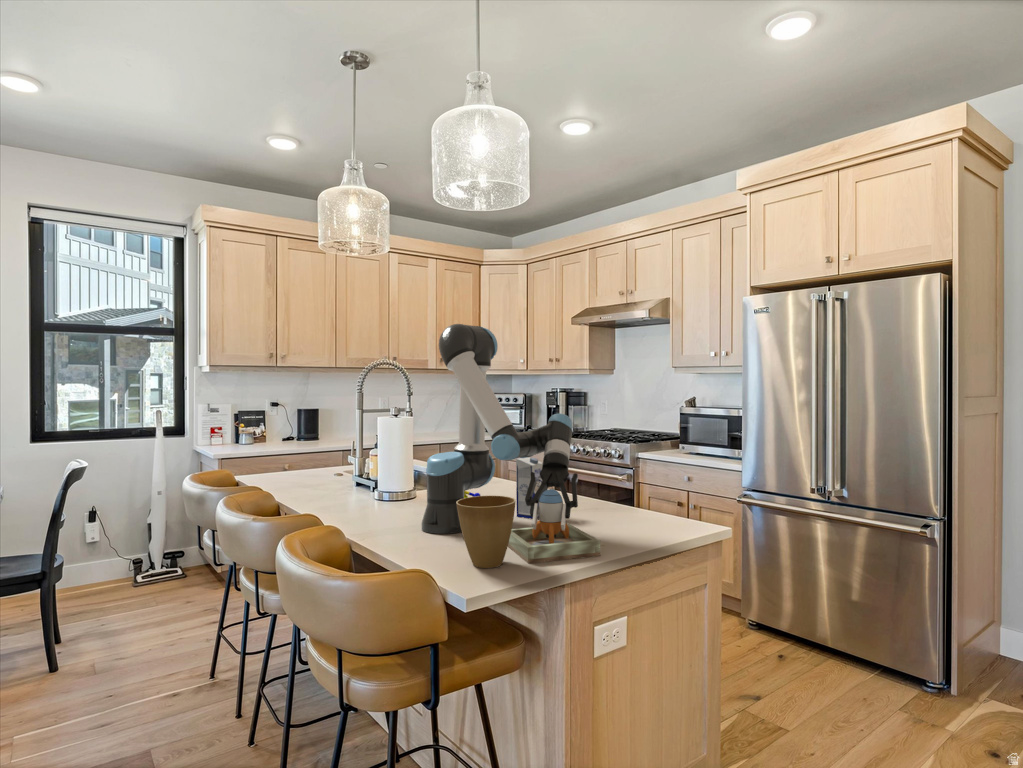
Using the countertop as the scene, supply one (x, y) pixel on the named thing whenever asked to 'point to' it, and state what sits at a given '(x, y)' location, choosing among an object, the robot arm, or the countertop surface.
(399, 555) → the countertop surface
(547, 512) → the toy rocket
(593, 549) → the cradle
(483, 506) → the plant pot
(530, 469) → the milk carton
